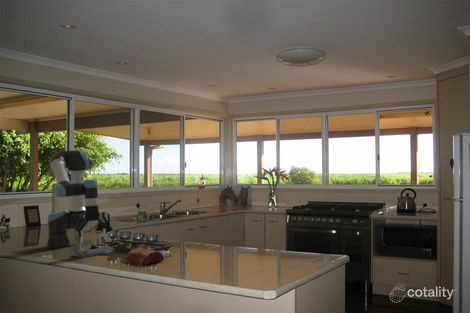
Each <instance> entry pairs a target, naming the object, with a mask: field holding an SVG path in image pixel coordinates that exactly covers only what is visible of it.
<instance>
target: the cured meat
mask: <svg viewBox="0 0 470 313" xmlns="http://www.w3.org/2000/svg"><path fill="white" fill-rule="evenodd" d="M164 260H165V257H164V256H163V253H162V252H161V251H157V250H153V249H150V248H149V249H148V248H140V247H139V248H132V249H131V250H130V251H129V252H127V254H126V255H125V256H124V260H123V262H124V263H127V264H131V265H136V266H140V267H146V265H148V264H150V263H151V264H154V265H155V264H158V263H162V262H163V261H164Z"/></svg>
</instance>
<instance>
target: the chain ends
mask: <svg viewBox="0 0 470 313" xmlns="http://www.w3.org/2000/svg"><path fill="white" fill-rule="evenodd" d="M115 253H116V248H115V247H114V246H112V247H111V246H108V245H102V246H100V245H97V248H95V249H91V246H87V247H83V250H82V251H77V250H74V251H73V252H72V256H73V257H74V258H76V259H79V258H80V259H81V258H85V257H86V256H87V257H92V256H101V255H106V254H107V255H108V254H115ZM100 254H101V255H100Z"/></svg>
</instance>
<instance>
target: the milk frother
mask: <svg viewBox="0 0 470 313" xmlns="http://www.w3.org/2000/svg"><path fill="white" fill-rule="evenodd" d="M102 212H104V215H105V217H106V219H107V221H108V223H109V224H110V225H111V214H110V213H109V212H108V211H99V213H102ZM98 218H99V219H100V220H101V221H102V222H103V223H104V224H105V225H106V223H105V221H104V220H103V218H102V216H100V215H99V217H98ZM96 221H97V220H96ZM106 226H107V225H106ZM92 227H96V230H97V231H102V227H103V226H102V225H101V224H100V223H99V222H98V221H97V224H95V225H93V226H92Z"/></svg>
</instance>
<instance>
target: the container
mask: <svg viewBox="0 0 470 313" xmlns="http://www.w3.org/2000/svg"><path fill="white" fill-rule="evenodd" d="M103 229H104V227H102V230H101V233H102V234H100V235H98V236H99V245H100V244H102V243H106V242H111V241H112V239H111V238H110V236H108V233H110V232H112V233H113V226H112V225H110V227H108V228H107V234H106V240H104V235H103ZM116 238H117V237H116ZM116 238H115V239H114V240H116ZM116 241H117V240H116Z"/></svg>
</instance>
